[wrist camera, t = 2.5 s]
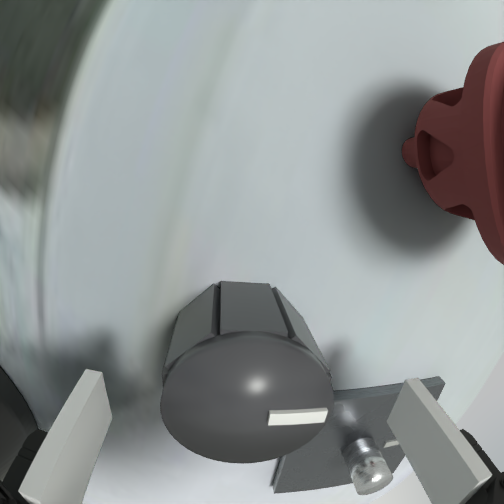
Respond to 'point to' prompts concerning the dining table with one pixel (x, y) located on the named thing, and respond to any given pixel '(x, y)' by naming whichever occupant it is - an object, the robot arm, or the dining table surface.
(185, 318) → the knob
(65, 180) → the dining table surface
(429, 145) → the mechanical component
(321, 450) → the metal plate
